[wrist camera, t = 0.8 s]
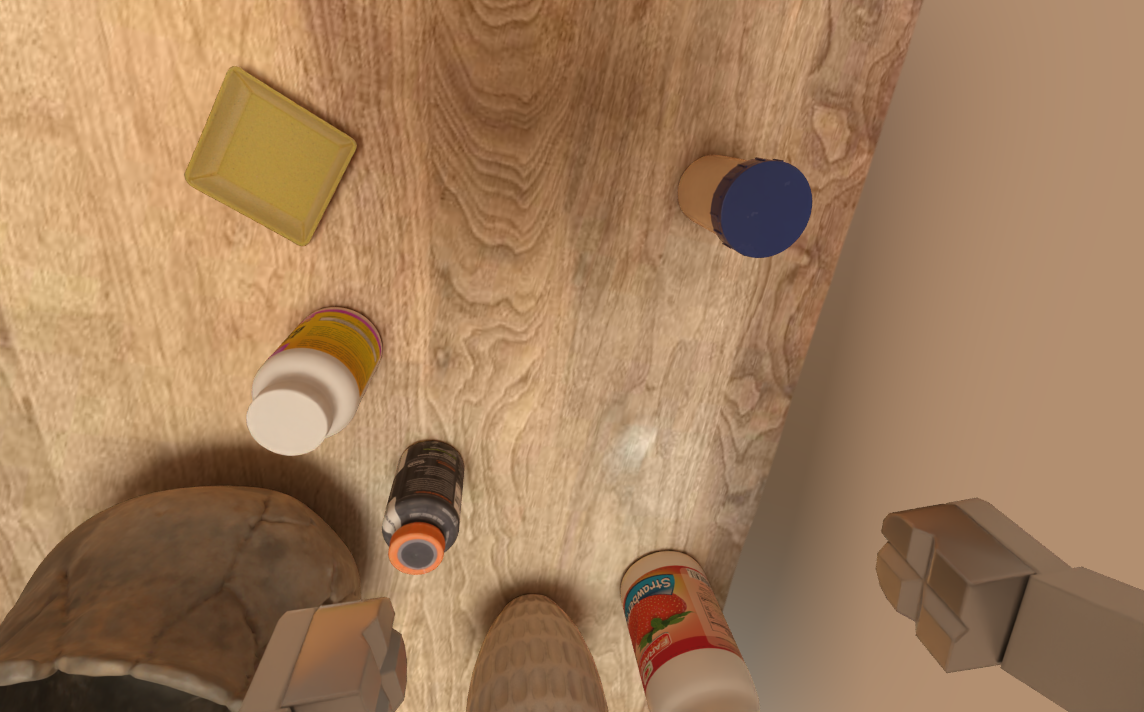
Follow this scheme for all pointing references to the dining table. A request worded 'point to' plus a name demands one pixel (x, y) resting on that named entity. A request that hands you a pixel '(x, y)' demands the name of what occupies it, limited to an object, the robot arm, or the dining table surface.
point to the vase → (535, 663)
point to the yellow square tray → (269, 157)
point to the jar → (703, 186)
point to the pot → (168, 602)
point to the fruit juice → (683, 639)
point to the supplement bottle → (313, 381)
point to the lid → (761, 207)
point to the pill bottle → (424, 507)
